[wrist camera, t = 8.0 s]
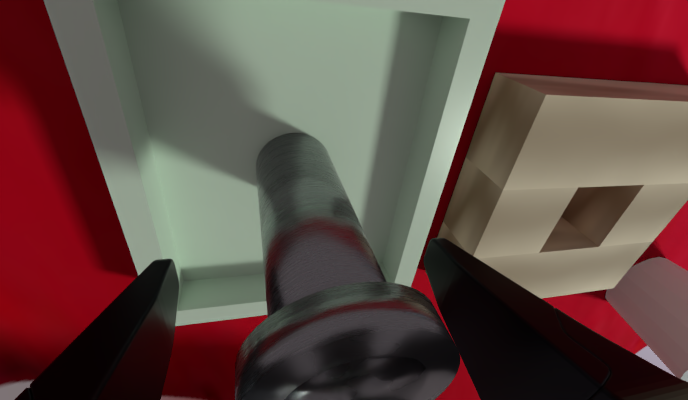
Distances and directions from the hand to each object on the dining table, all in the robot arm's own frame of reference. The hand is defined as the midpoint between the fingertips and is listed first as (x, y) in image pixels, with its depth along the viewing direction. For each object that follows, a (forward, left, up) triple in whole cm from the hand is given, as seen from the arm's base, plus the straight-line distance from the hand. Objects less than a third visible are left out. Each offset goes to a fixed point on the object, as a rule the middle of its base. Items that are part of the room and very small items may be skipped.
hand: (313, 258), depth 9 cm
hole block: (-2, -14, -6) cm, 16 cm away
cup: (-12, -29, -6) cm, 32 cm away
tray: (0, 0, -6) cm, 6 cm away
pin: (0, 0, -5) cm, 5 cm away
